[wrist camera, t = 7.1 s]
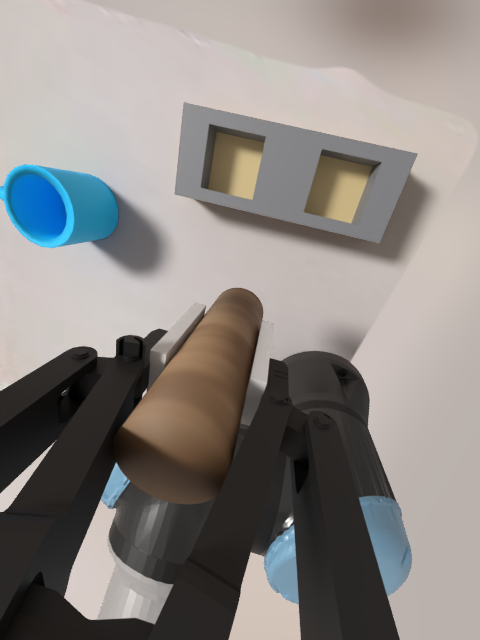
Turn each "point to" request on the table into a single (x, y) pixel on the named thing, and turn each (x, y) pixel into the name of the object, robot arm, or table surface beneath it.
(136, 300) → the table surface
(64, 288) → the table surface
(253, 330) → the peg
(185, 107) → the rail
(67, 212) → the mug
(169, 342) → the robot arm
